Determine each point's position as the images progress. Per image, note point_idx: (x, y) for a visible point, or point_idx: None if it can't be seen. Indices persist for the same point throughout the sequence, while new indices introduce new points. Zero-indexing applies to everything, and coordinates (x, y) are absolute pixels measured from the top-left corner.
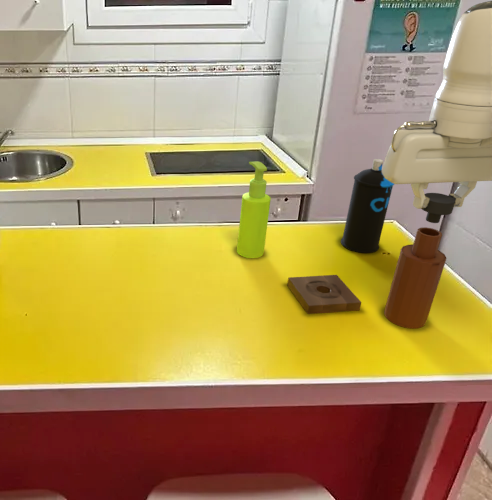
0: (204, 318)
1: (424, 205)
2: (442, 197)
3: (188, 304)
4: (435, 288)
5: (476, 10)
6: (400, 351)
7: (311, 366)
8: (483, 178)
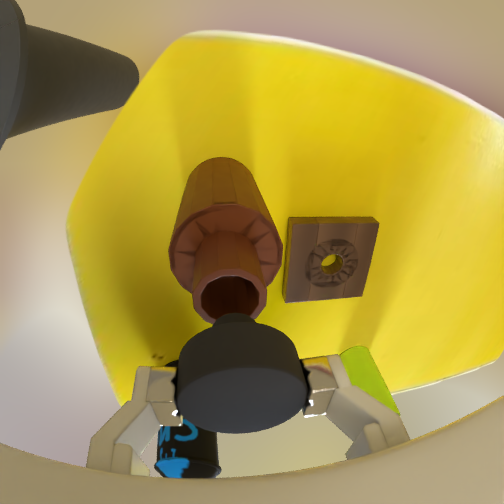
0: (473, 224)
1: (322, 365)
2: (225, 409)
3: (472, 251)
4: (198, 185)
5: None
6: (286, 101)
7: (424, 105)
8: (63, 476)
